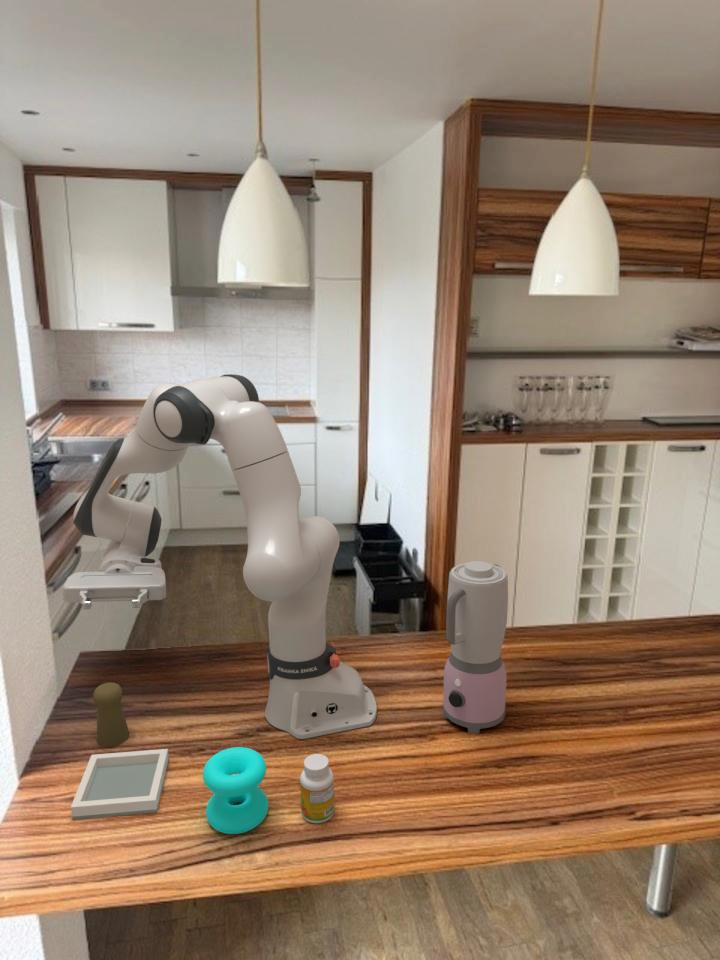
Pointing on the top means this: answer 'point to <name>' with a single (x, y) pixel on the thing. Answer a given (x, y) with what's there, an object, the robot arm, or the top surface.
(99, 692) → the olive brown pawn
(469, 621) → the blender
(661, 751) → the top surface
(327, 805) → the supplement bottle
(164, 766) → the picture frame
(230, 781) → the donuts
